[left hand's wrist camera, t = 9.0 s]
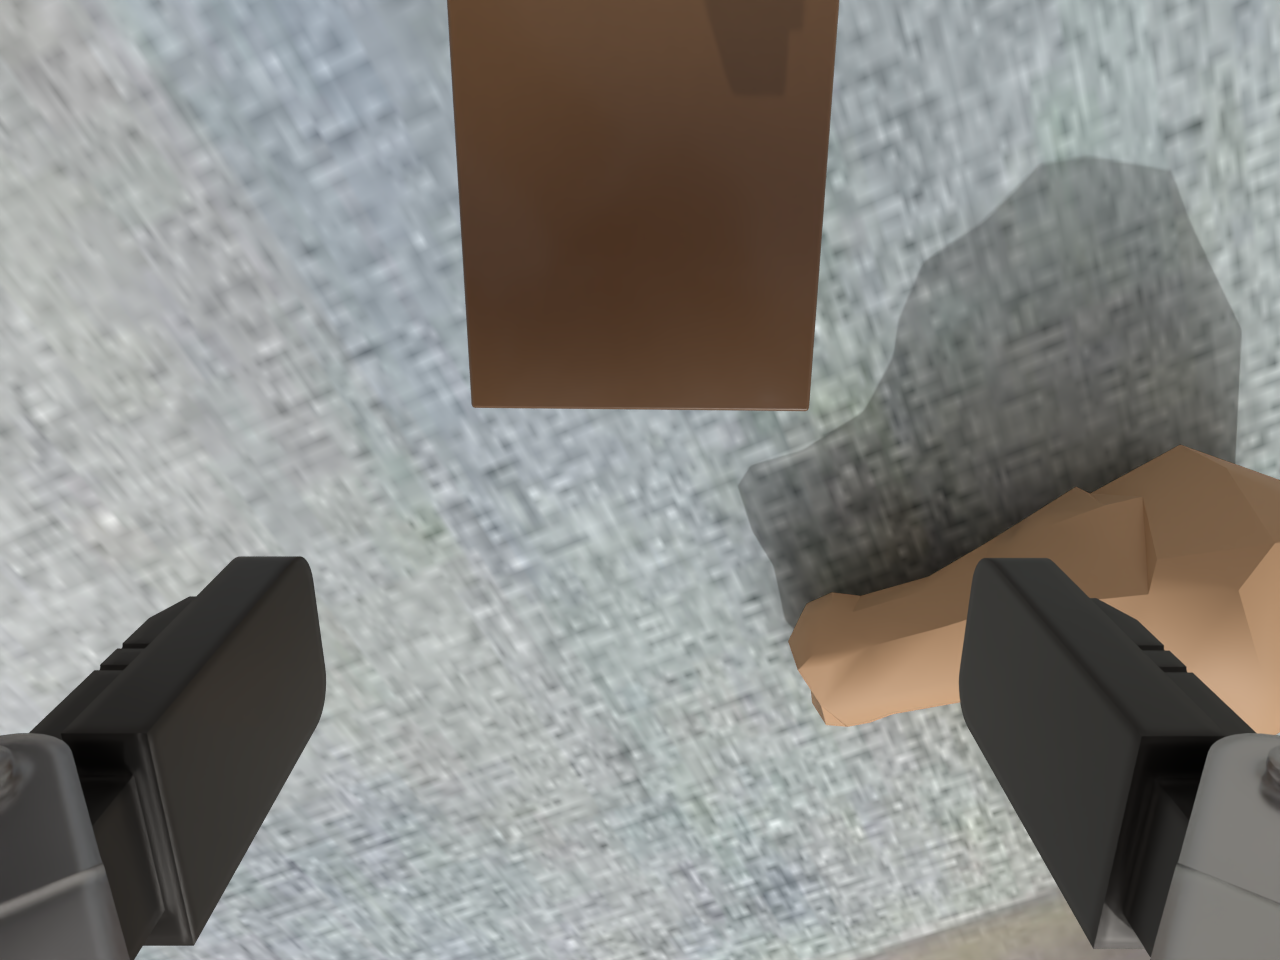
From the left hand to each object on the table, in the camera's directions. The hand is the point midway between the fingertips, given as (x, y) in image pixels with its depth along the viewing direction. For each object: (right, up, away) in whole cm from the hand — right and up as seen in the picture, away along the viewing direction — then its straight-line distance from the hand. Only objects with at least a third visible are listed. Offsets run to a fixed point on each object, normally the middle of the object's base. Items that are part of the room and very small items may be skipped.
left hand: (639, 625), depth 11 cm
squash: (+16, -3, +27) cm, 31 cm away
